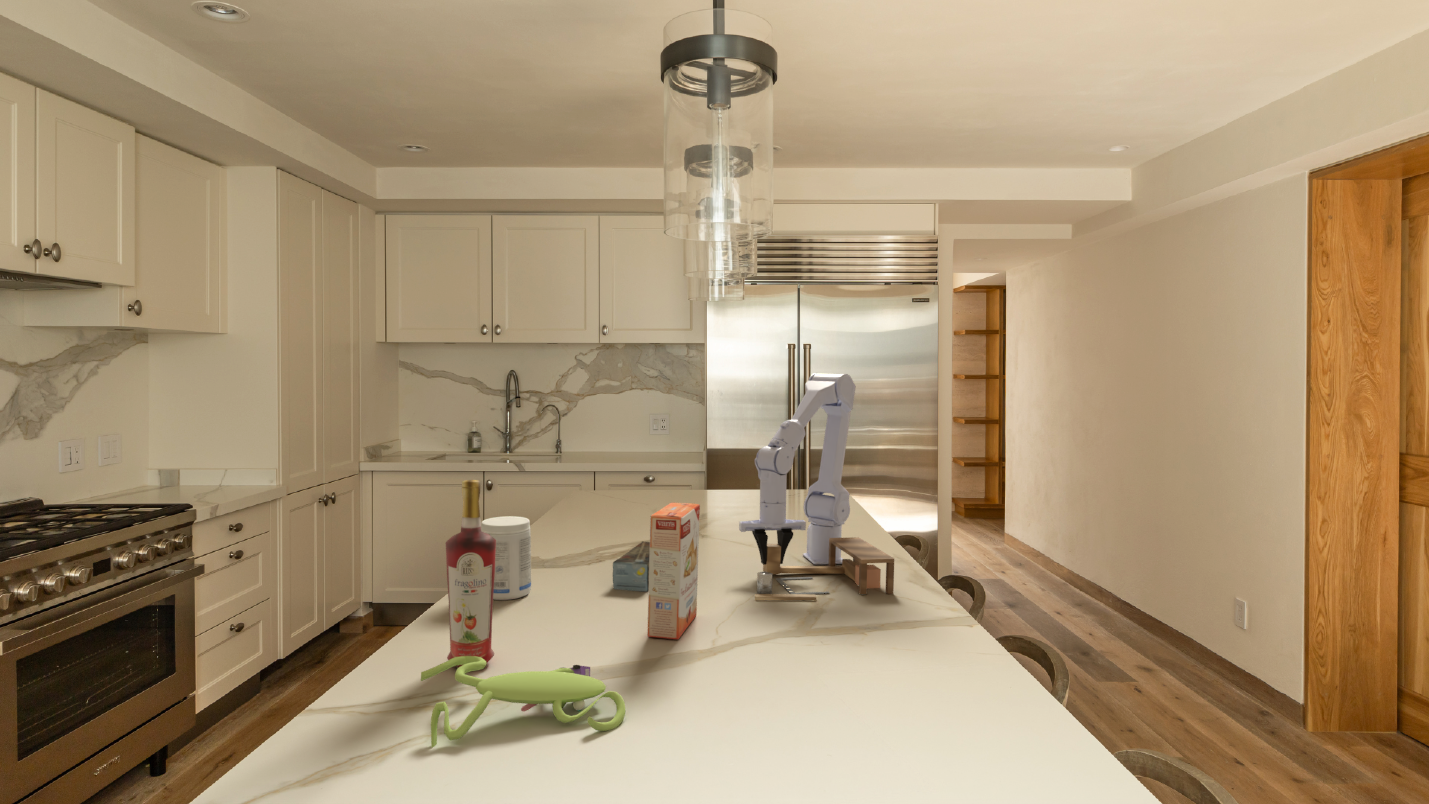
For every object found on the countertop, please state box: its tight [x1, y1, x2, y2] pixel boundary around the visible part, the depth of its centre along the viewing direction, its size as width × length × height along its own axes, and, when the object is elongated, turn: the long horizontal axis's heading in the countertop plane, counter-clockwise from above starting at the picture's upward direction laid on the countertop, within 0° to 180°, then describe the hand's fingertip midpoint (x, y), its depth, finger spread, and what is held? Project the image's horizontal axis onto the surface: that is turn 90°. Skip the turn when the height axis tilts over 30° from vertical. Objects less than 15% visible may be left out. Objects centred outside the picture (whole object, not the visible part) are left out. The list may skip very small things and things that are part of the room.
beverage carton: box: [612, 541, 650, 593], centre depth 174 cm, size 8×19×7 cm, turn 166°
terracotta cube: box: [854, 564, 882, 589], centre depth 171 cm, size 4×4×4 cm
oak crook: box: [762, 543, 858, 582], centre depth 177 cm, size 20×9×6 cm, turn 101°
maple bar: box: [754, 593, 817, 601], centre depth 161 cm, size 2×12×1 cm, turn 92°
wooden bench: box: [827, 536, 895, 595], centre depth 175 cm, size 20×7×7 cm, turn 11°
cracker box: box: [647, 502, 701, 640], centre depth 143 cm, size 14×6×21 cm, turn 168°
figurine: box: [420, 656, 626, 748], centre depth 109 cm, size 18×27×6 cm
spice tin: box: [756, 571, 773, 594], centre depth 165 cm, size 3×3×4 cm
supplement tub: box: [481, 515, 532, 601], centre depth 161 cm, size 10×10×15 cm
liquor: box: [445, 479, 496, 669], centre depth 123 cm, size 7×7×28 cm
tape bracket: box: [775, 576, 830, 595], centre depth 170 cm, size 12×8×1 cm, turn 11°
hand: (771, 563), depth 178 cm, fingers closed on oak crook, 3 cm apart
